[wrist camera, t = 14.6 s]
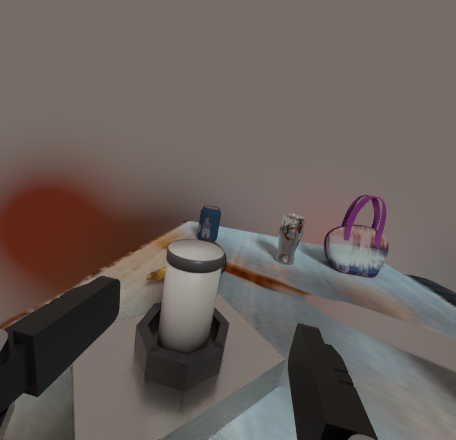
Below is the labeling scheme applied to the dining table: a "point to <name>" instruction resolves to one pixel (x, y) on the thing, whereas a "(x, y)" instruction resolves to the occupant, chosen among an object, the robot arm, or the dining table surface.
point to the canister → (189, 294)
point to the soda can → (209, 223)
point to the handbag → (358, 242)
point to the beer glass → (289, 237)
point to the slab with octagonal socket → (170, 380)
